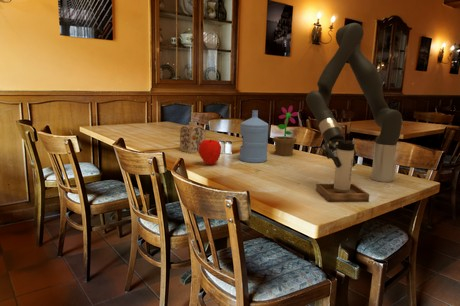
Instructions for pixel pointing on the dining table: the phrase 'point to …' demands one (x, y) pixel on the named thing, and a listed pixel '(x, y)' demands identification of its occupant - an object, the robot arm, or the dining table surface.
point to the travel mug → (344, 166)
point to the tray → (342, 194)
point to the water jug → (254, 139)
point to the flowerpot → (282, 142)
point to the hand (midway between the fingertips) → (346, 166)
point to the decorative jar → (191, 137)
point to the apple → (210, 151)
